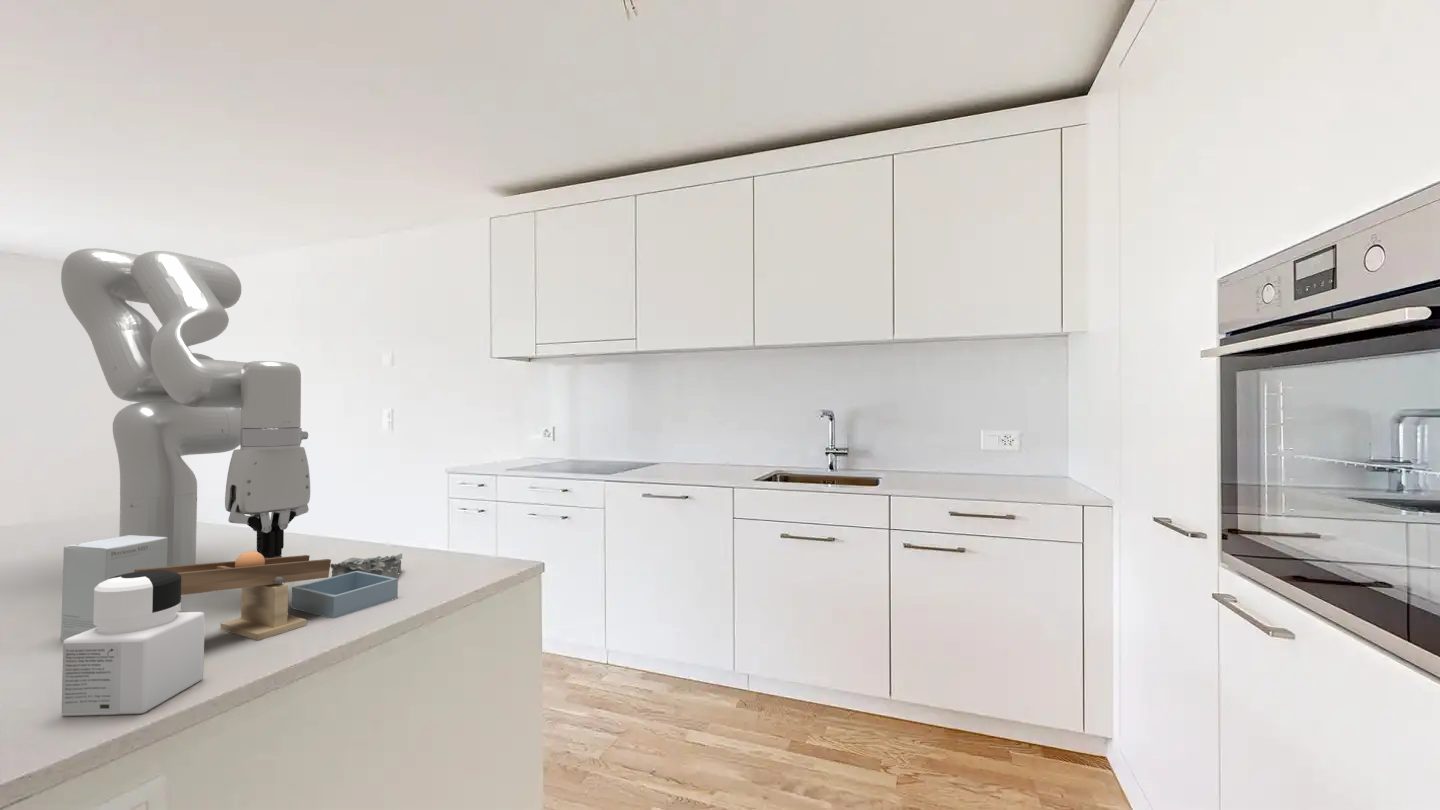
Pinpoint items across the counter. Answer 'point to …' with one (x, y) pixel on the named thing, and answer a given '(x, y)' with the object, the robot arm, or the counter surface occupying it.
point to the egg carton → (370, 566)
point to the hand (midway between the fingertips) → (270, 555)
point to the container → (133, 647)
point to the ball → (250, 559)
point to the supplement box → (102, 573)
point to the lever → (247, 573)
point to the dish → (344, 593)
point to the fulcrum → (263, 613)
